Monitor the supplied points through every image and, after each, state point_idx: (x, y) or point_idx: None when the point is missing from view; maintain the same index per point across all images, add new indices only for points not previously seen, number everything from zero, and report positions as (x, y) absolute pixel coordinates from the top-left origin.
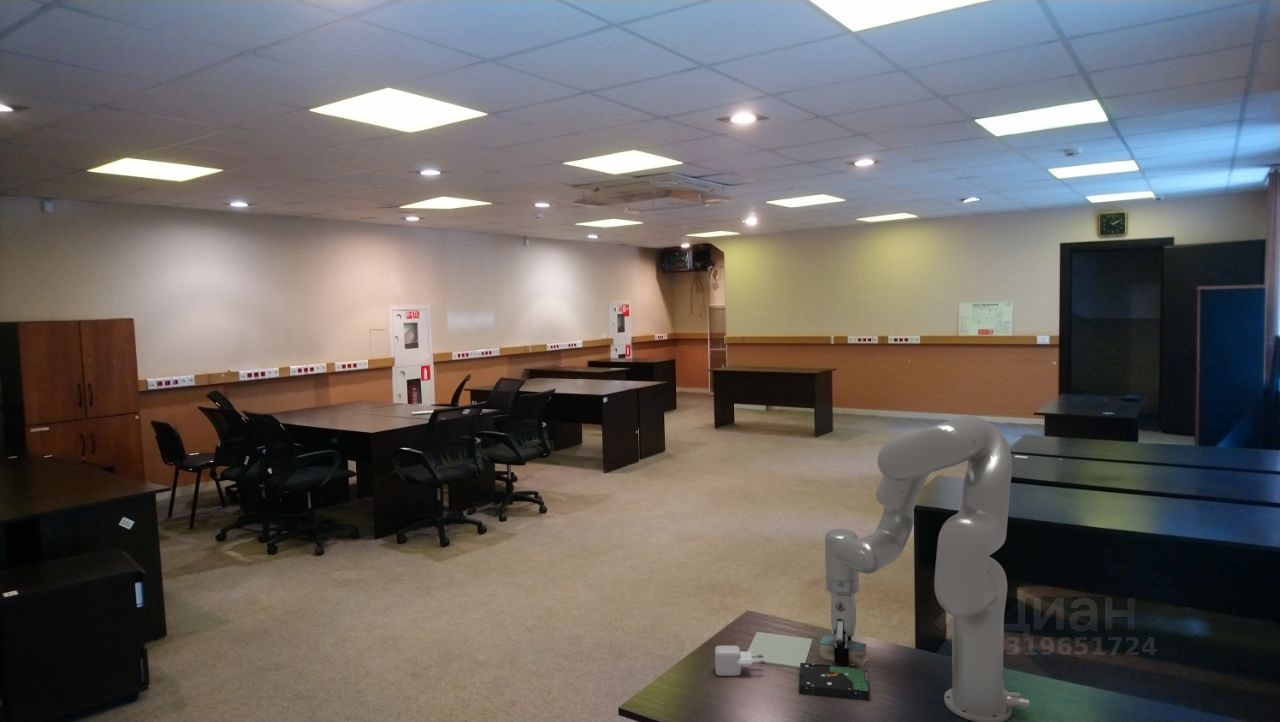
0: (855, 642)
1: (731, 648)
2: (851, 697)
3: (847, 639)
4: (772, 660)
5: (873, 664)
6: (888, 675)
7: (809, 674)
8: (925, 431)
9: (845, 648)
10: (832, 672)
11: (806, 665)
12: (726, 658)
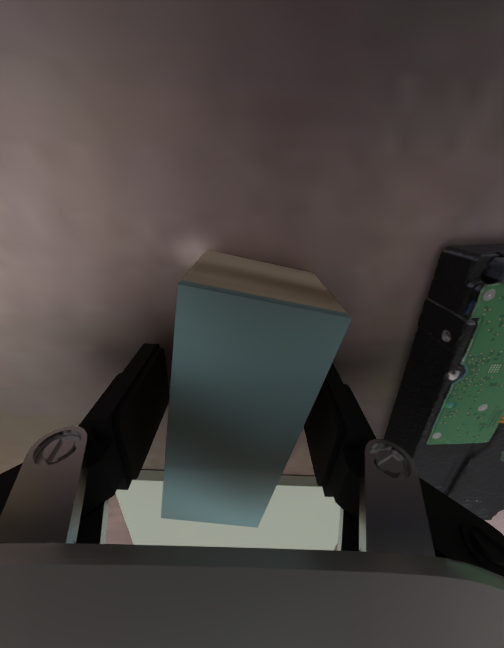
0: (187, 374)
1: None
2: None
3: (371, 516)
4: (321, 544)
5: (263, 201)
6: (433, 68)
7: (494, 498)
8: None
9: (403, 461)
10: (501, 436)
11: None
12: None
